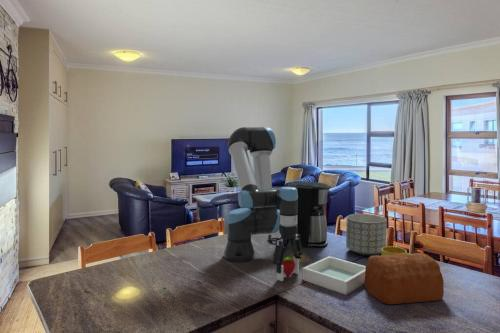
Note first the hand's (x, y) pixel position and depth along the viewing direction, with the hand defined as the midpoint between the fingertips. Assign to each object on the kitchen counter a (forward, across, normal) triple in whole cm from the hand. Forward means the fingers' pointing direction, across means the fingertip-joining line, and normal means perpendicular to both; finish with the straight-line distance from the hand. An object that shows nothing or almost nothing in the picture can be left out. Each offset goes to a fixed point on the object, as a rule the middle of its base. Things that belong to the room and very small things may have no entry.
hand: (288, 276), depth 148 cm
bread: (+1, +18, -40) cm, 44 cm away
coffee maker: (0, +46, +28) cm, 53 cm away
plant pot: (0, +37, -29) cm, 47 cm away
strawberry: (0, 0, 0) cm, 0 cm away
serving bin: (0, +12, -16) cm, 20 cm away
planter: (0, +51, -9) cm, 52 cm away
